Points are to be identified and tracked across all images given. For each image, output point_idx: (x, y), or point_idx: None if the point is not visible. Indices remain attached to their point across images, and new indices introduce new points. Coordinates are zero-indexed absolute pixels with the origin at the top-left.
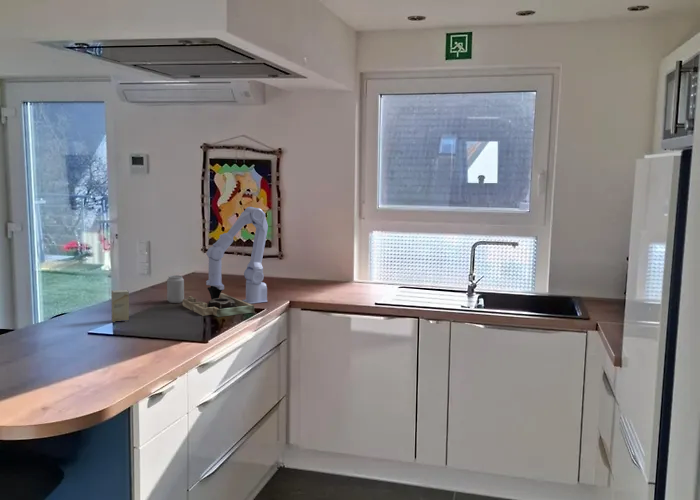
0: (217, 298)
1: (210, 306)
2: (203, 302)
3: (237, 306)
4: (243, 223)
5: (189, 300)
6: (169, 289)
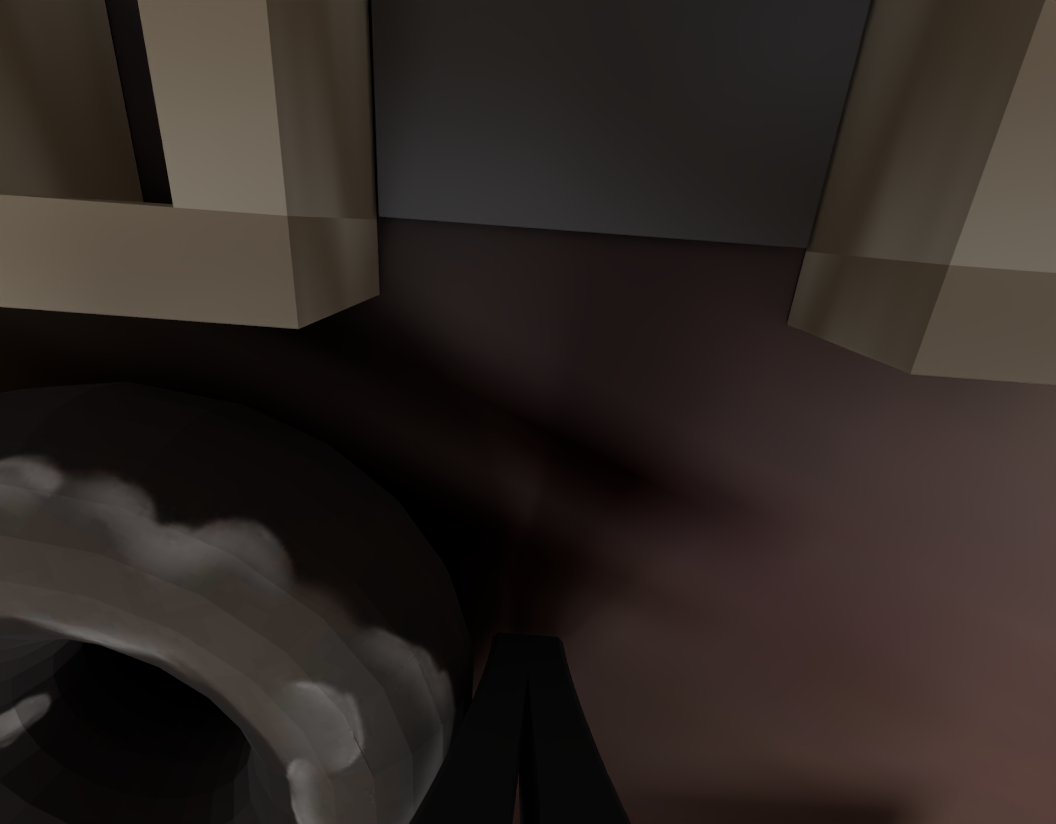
0: (309, 791)
1: (58, 389)
2: (105, 265)
3: None
4: None
5: (982, 60)
6: None
